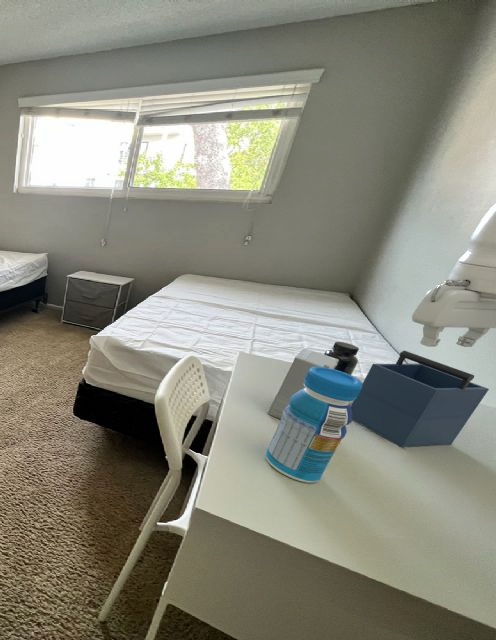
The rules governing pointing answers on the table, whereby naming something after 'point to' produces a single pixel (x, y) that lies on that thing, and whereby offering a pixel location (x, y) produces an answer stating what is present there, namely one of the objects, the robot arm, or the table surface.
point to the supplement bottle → (344, 356)
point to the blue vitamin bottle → (313, 424)
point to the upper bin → (424, 388)
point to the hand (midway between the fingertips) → (445, 345)
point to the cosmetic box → (298, 378)
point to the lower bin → (404, 424)
